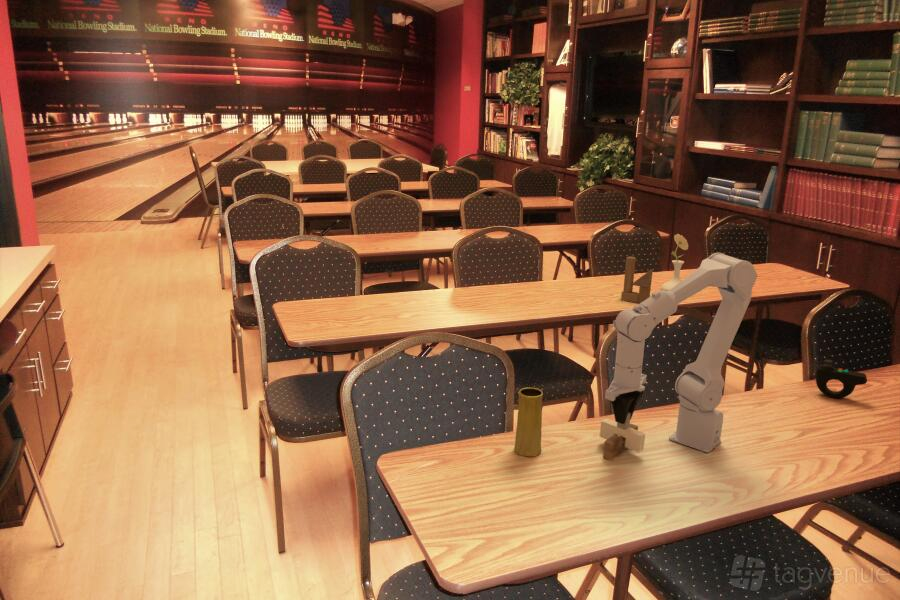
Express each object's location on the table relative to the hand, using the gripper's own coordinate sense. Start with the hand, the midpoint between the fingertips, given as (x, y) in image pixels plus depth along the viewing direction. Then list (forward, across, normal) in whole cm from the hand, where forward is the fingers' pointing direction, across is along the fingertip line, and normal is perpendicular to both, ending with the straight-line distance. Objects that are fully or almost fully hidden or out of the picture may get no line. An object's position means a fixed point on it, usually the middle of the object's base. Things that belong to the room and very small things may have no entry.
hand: (622, 420), depth 149 cm
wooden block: (+7, +114, +59) cm, 129 cm away
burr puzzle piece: (+6, 0, 0) cm, 6 cm away
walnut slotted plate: (+7, 0, 0) cm, 7 cm away
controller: (+7, +69, -27) cm, 74 cm away
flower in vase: (+7, +140, +55) cm, 151 cm away
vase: (+8, -16, +14) cm, 22 cm away
